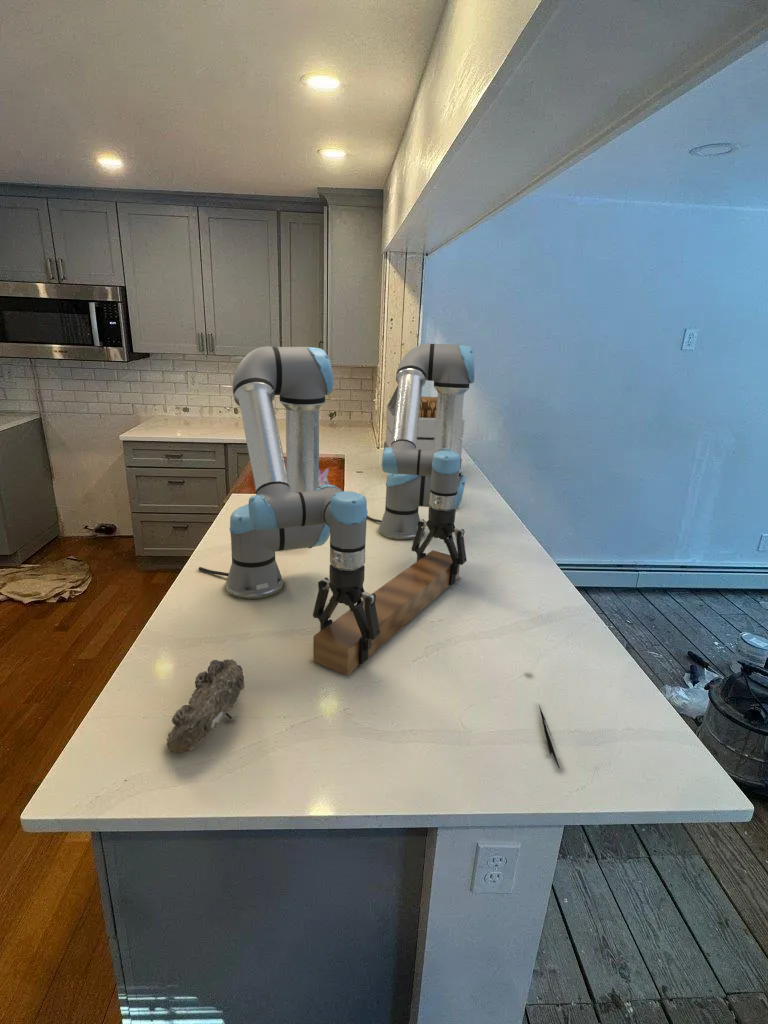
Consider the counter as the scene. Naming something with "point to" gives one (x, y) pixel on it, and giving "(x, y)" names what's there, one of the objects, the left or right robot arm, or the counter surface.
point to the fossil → (206, 705)
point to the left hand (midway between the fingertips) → (344, 653)
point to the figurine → (323, 477)
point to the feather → (548, 737)
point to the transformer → (424, 426)
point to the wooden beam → (384, 612)
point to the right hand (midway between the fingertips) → (436, 578)
